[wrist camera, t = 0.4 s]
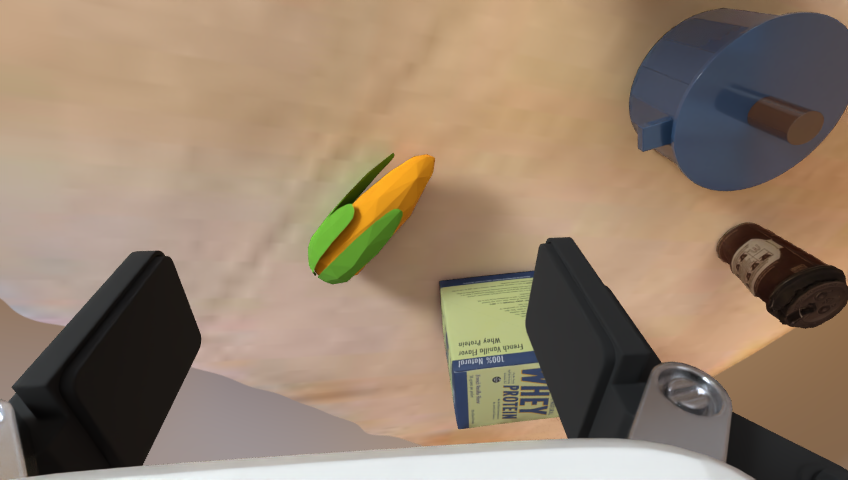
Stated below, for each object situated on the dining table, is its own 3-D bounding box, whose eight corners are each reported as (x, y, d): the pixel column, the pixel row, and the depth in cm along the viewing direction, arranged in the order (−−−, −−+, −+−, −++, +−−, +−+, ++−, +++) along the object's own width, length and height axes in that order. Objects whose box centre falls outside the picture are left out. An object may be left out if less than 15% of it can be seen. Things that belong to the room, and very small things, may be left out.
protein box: (436, 280, 57) (452, 373, 44) (550, 266, 57) (598, 355, 44) (441, 334, 63) (456, 431, 50) (545, 322, 63) (586, 415, 50)
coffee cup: (695, 266, 59) (764, 334, 49) (720, 215, 55) (802, 277, 44) (752, 266, 60) (833, 332, 49) (782, 215, 56) (878, 276, 45)
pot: (600, 44, 42) (647, 61, 35) (808, -22, 40) (905, -19, 33) (606, 172, 50) (646, 209, 43) (780, 122, 48) (853, 151, 41)
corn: (285, 282, 46) (406, 148, 38) (294, 241, 52) (400, 118, 45) (342, 310, 49) (462, 192, 42) (343, 268, 55) (449, 159, 48)
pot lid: (670, 45, 35) (715, 58, 30) (870, -17, 33) (949, -13, 29) (664, 204, 43) (698, 233, 39) (823, 160, 42) (878, 185, 37)
